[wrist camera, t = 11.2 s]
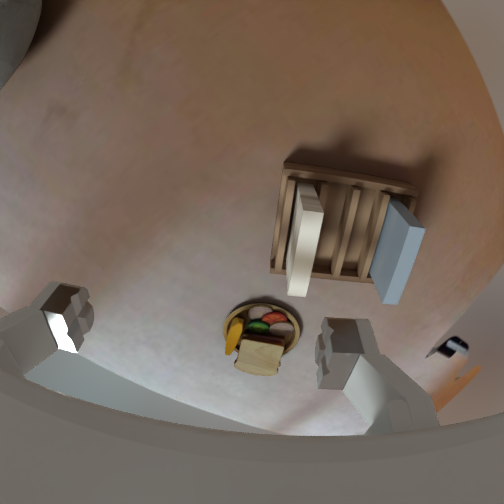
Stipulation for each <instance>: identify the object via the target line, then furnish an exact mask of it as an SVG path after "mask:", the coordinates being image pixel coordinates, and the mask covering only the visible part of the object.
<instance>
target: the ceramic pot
mask: <svg viewBox="0 0 504 504" xmlns="http://www.w3.org/2000/svg"><path fill="white" fill-rule="evenodd" d="M41 10H42V0H0V89H1V88H2V87H3V86H4V85H5V84H6V82H7V81H8V80H9V78H10V77H11V76H12V74H13V73H14V72H15V70H16V69H17V68H18V66H19V65H20V63H21V62H22V60H23V58H24V56H25V54H26V53H27V50H28V48H29V46H30V44H31V41H32V39H33V36H34V34H35V31H36V28H37V25H38V21H39V18H40V14H41Z"/></svg>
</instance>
